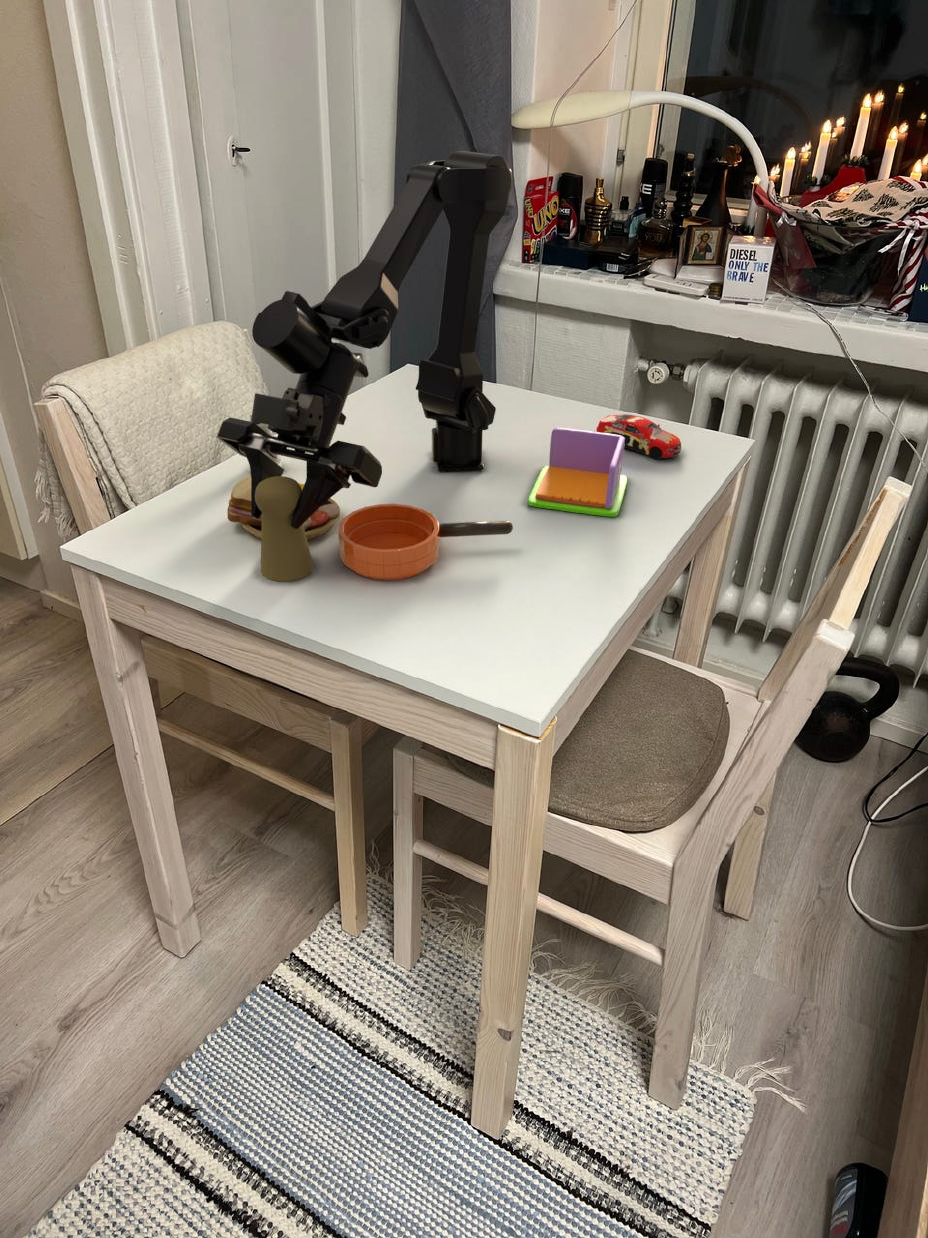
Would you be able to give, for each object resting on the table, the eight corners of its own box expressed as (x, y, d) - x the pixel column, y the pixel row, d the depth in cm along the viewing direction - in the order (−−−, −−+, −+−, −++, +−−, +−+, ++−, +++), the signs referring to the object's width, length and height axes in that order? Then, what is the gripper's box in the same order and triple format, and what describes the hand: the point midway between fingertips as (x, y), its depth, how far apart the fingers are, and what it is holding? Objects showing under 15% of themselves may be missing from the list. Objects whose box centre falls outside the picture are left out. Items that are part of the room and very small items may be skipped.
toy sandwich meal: (312, 553, 109) (308, 518, 106) (213, 534, 113) (208, 499, 110) (357, 508, 119) (355, 474, 116) (265, 491, 122) (261, 458, 120)
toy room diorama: (628, 479, 127) (634, 432, 123) (617, 518, 117) (623, 469, 113) (543, 468, 129) (546, 422, 125) (525, 506, 120) (528, 457, 116)
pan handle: (511, 529, 109) (512, 517, 109) (513, 536, 108) (514, 524, 107) (431, 533, 109) (431, 521, 108) (432, 540, 107) (432, 527, 106)
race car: (686, 453, 134) (691, 427, 132) (668, 465, 131) (672, 439, 129) (610, 429, 141) (613, 404, 139) (591, 439, 138) (593, 414, 135)
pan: (434, 530, 114) (434, 501, 112) (443, 579, 105) (443, 549, 102) (340, 534, 113) (338, 505, 111) (341, 584, 103) (338, 554, 101)
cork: (322, 559, 108) (314, 474, 102) (298, 585, 103) (288, 497, 97) (276, 550, 109) (266, 466, 103) (250, 575, 105) (238, 488, 98)
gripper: (214, 346, 99) (163, 479, 97) (363, 373, 93) (312, 516, 91) (265, 393, 110) (220, 514, 108) (403, 420, 103) (357, 550, 101)
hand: (273, 522), depth 102 cm, fingers closed on cork, 5 cm apart
